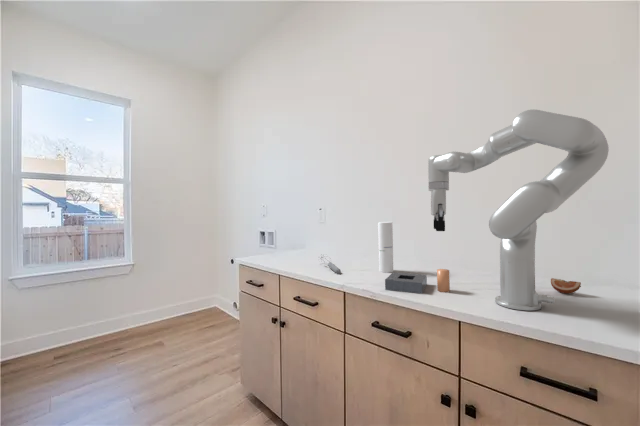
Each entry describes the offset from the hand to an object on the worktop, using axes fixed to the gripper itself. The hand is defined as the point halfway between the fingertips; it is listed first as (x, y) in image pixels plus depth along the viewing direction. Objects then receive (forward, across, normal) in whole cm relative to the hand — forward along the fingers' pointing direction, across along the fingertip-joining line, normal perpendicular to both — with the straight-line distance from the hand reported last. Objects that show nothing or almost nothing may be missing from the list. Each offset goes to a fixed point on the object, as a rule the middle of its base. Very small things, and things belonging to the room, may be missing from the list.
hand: (439, 230), depth 117 cm
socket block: (+23, +1, -13) cm, 27 cm away
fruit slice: (+23, -1, +42) cm, 48 cm away
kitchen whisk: (+24, -30, -53) cm, 65 cm away
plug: (+23, +3, +1) cm, 24 cm away
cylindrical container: (+24, -27, -23) cm, 43 cm away
